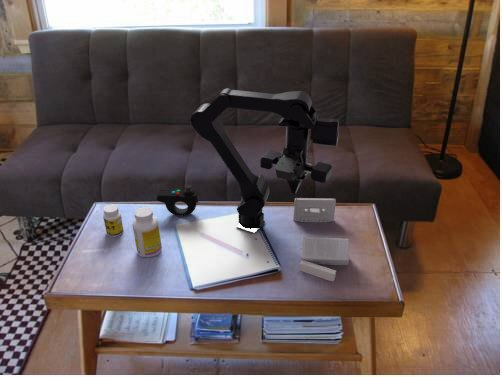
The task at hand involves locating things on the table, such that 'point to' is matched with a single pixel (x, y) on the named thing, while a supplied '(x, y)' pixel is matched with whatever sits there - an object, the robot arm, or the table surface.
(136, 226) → the supplement bottle
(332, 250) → the skincare box
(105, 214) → the supplement bottle
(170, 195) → the controller
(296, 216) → the cassette
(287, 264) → the table surface
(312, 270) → the u rest
